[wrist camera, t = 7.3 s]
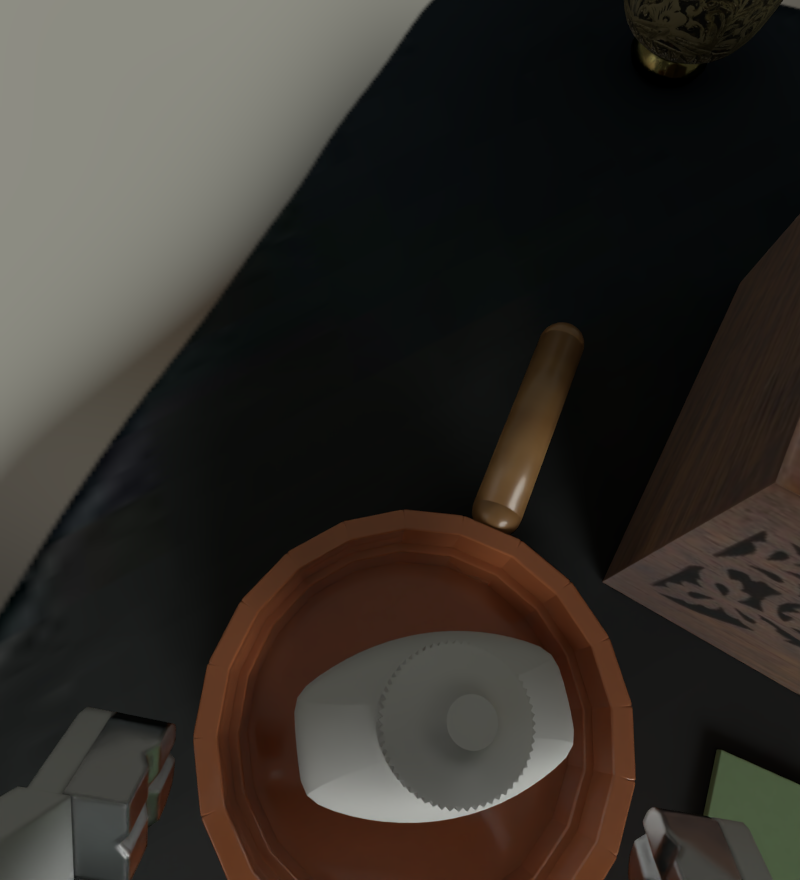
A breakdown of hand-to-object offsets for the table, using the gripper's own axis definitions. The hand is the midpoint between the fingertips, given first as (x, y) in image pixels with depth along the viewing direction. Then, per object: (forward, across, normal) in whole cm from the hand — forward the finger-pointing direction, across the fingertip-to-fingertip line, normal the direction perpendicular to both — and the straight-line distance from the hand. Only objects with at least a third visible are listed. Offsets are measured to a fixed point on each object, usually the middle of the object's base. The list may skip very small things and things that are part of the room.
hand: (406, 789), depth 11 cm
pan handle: (+12, -3, -2) cm, 13 cm away
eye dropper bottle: (+7, -1, +6) cm, 9 cm away
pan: (+7, -1, +6) cm, 9 cm away
